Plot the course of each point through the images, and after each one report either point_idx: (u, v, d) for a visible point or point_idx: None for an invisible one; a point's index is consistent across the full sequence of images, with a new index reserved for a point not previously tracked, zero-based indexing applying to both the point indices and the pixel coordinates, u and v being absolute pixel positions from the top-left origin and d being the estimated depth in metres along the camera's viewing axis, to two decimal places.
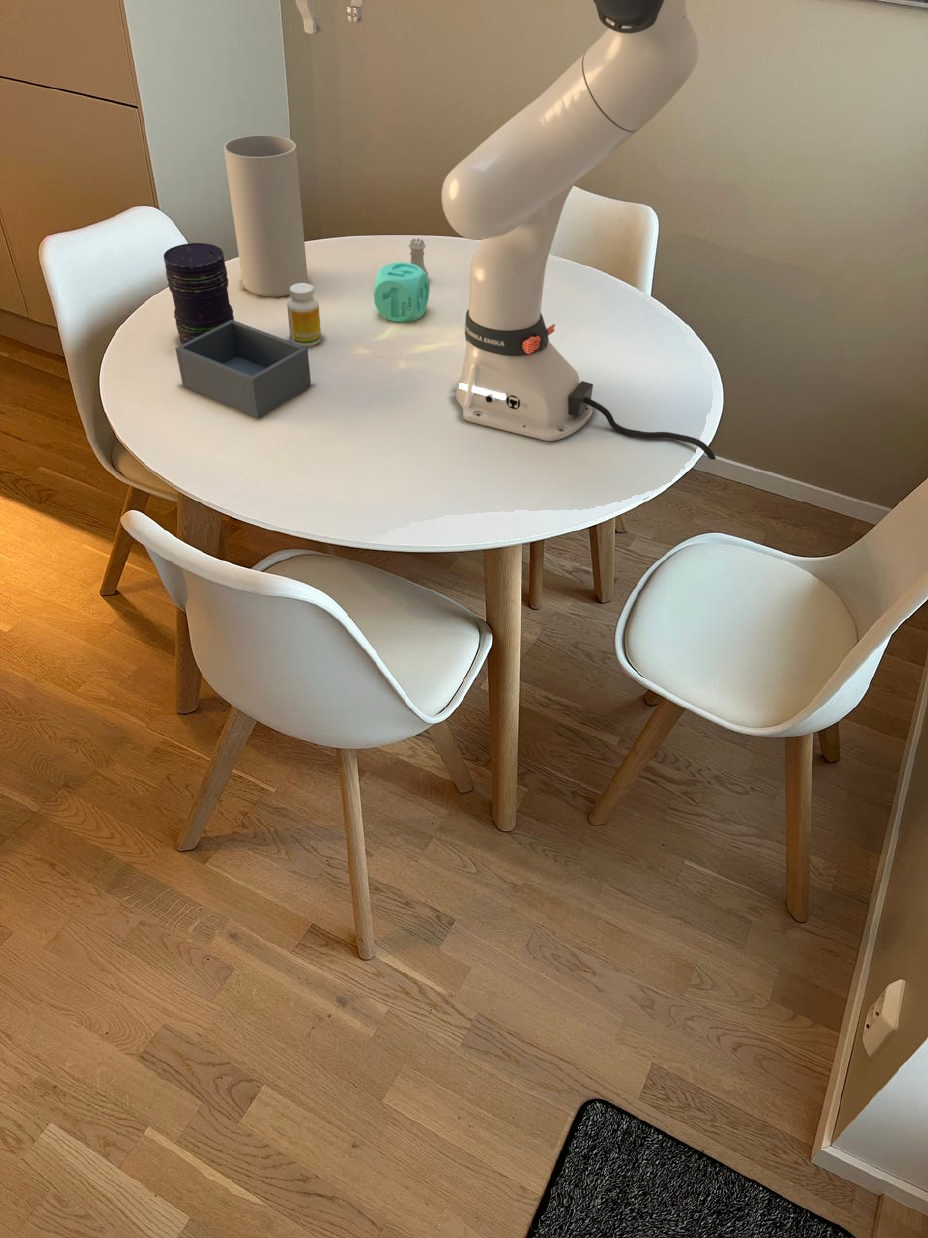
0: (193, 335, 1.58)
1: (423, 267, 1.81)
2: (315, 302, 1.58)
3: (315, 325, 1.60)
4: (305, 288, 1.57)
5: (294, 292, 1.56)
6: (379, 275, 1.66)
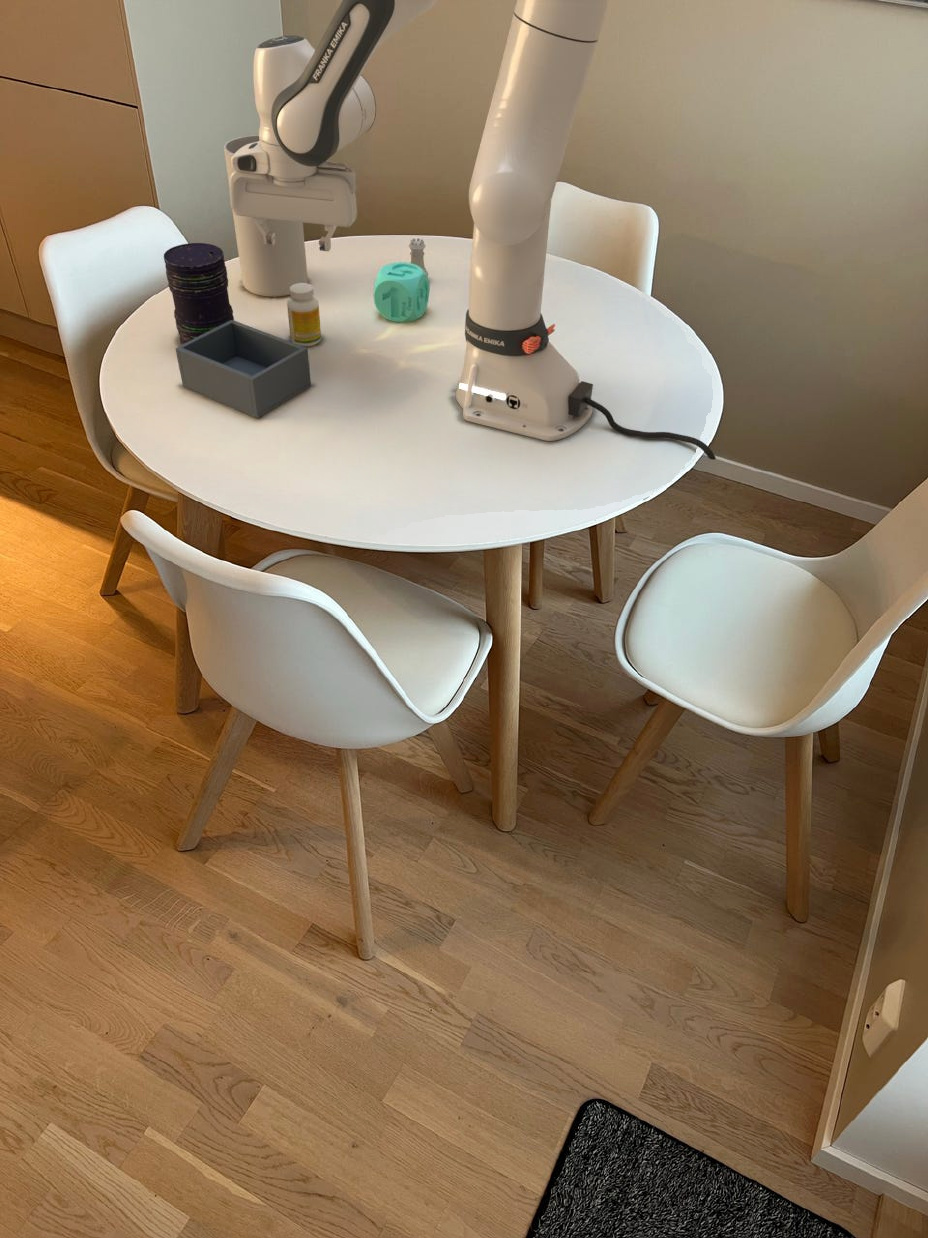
0: (193, 335, 1.58)
1: (423, 267, 1.81)
2: (315, 302, 1.58)
3: (315, 325, 1.60)
4: (305, 288, 1.57)
5: (294, 292, 1.56)
6: (379, 275, 1.66)
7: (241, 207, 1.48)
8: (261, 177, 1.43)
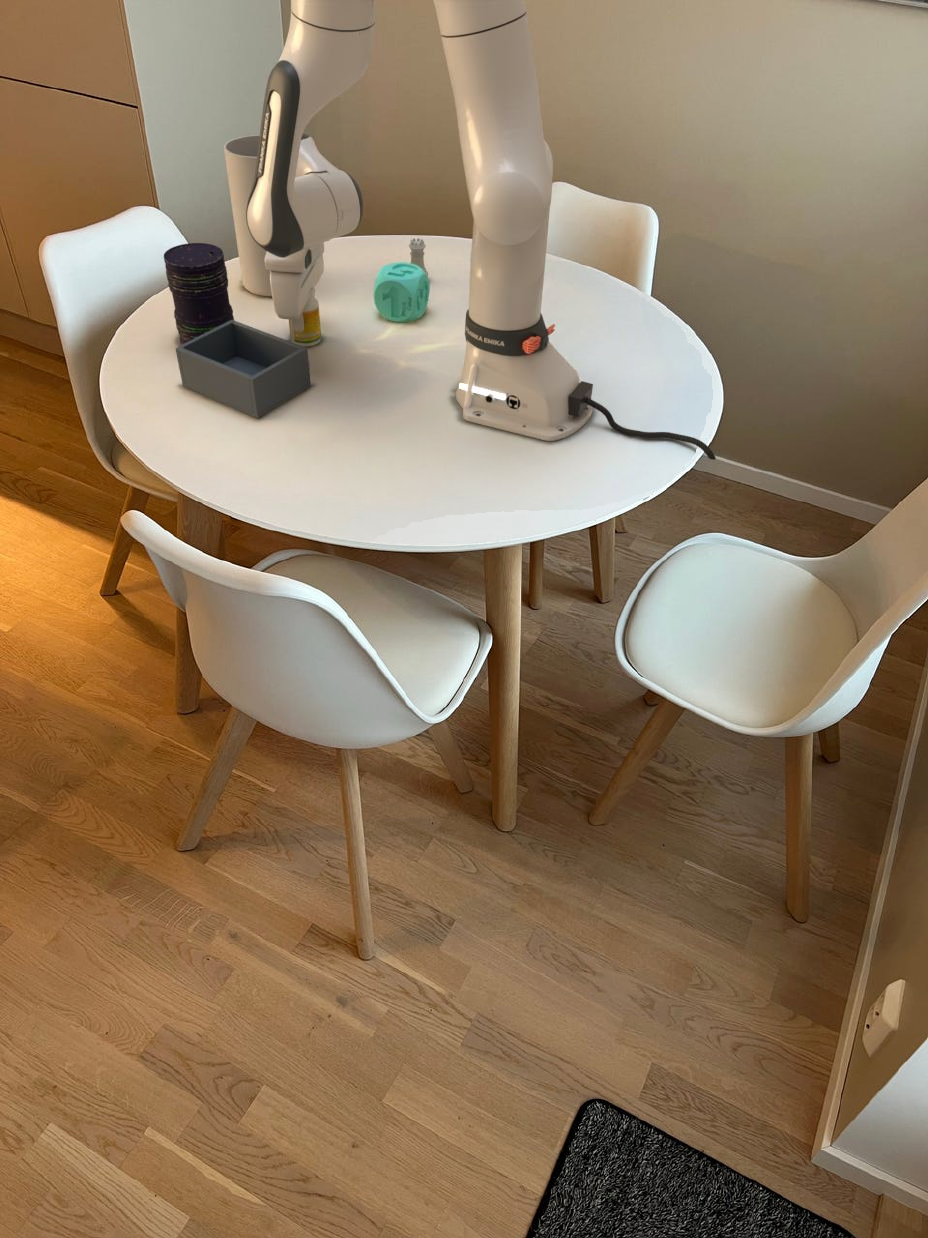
0: (193, 335, 1.58)
1: (423, 267, 1.81)
2: (315, 302, 1.58)
3: (315, 325, 1.60)
4: None
5: None
6: (379, 275, 1.66)
7: (300, 308, 1.51)
8: (309, 266, 1.50)
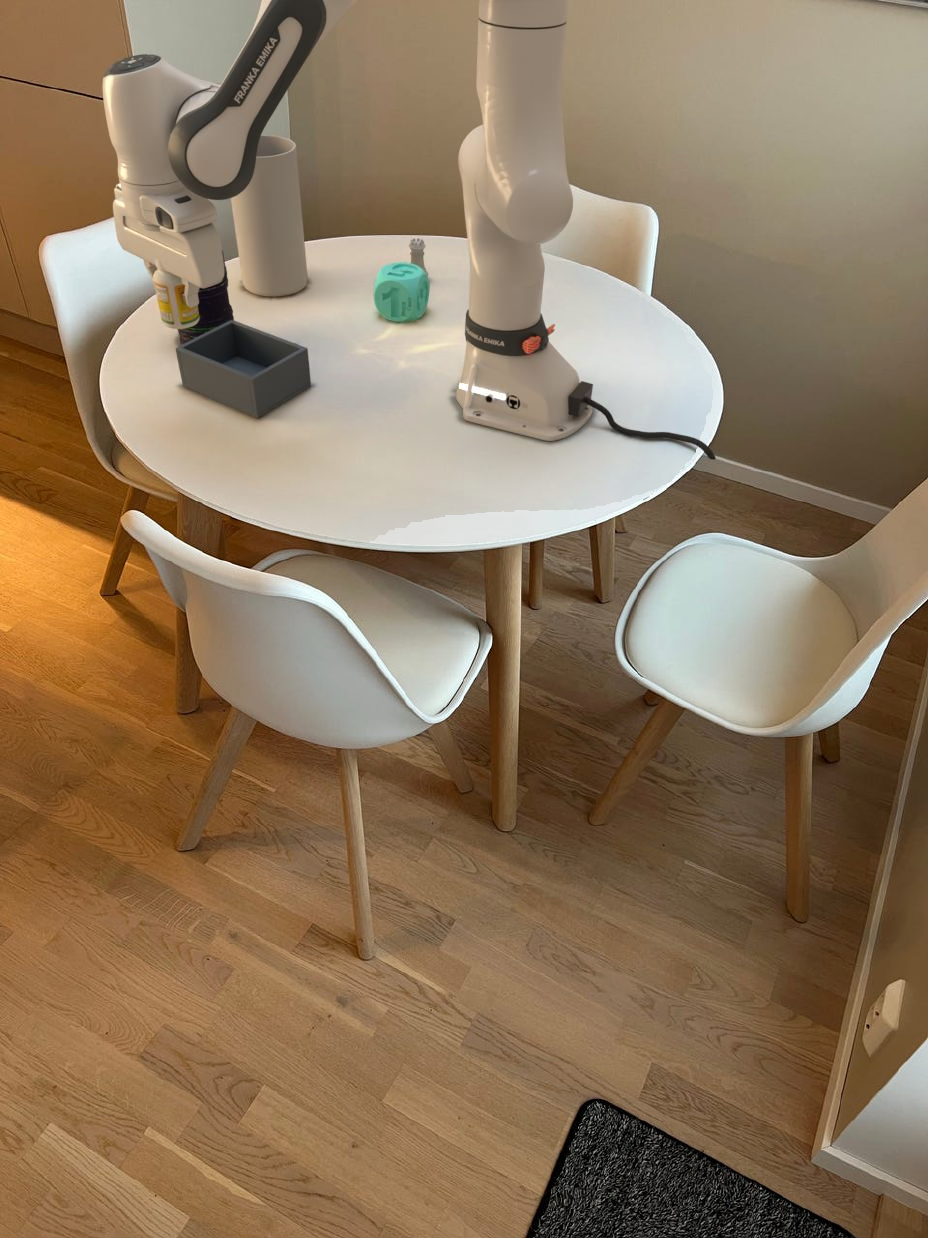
0: (193, 335, 1.58)
1: (423, 267, 1.81)
2: None
3: None
4: None
5: None
6: (379, 275, 1.66)
7: None
8: None
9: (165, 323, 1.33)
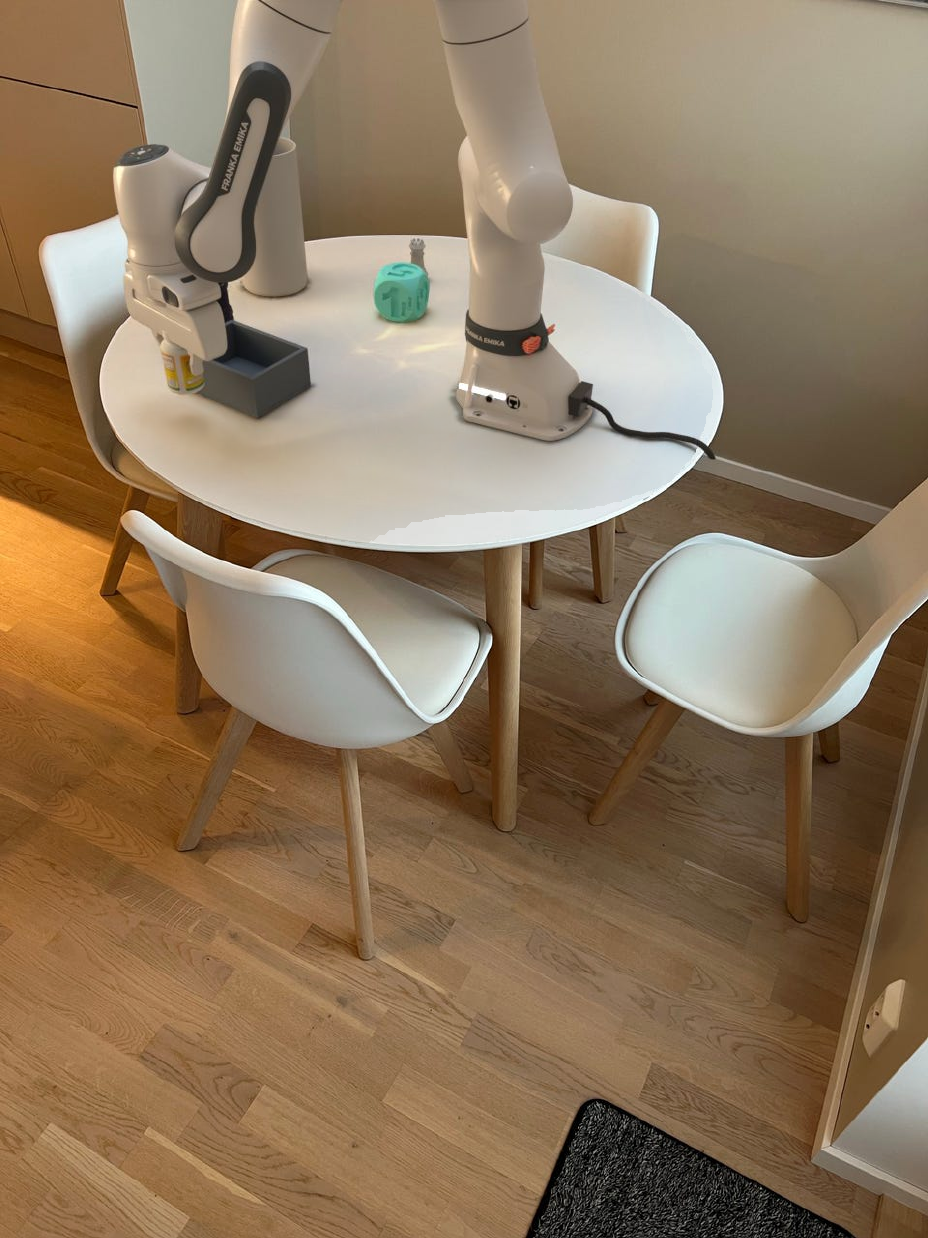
0: None
1: (423, 267, 1.81)
2: None
3: None
4: None
5: None
6: (379, 275, 1.66)
7: None
8: None
9: (171, 389, 1.39)
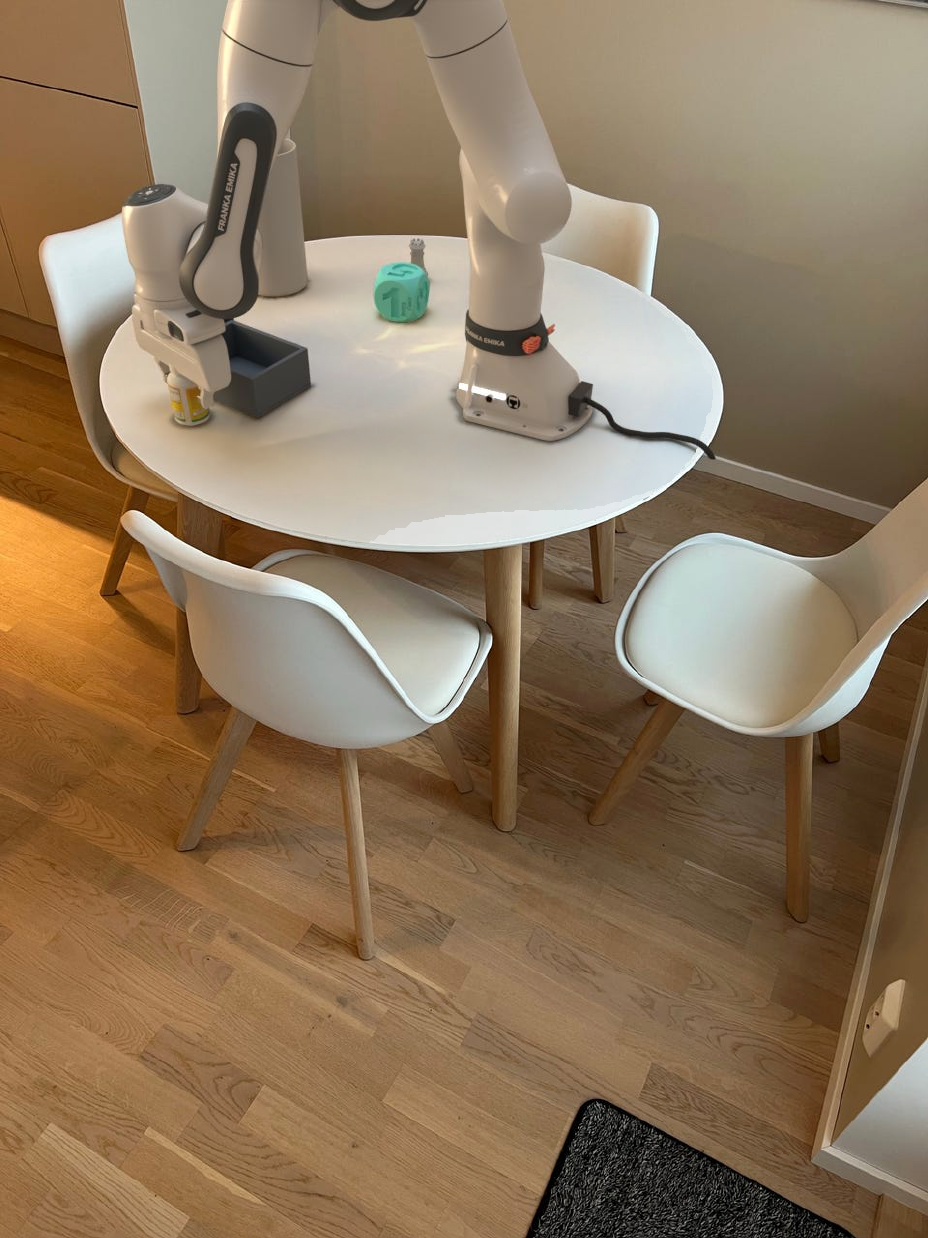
0: None
1: (423, 267, 1.81)
2: None
3: None
4: None
5: None
6: (379, 275, 1.66)
7: None
8: None
9: (177, 420, 1.42)
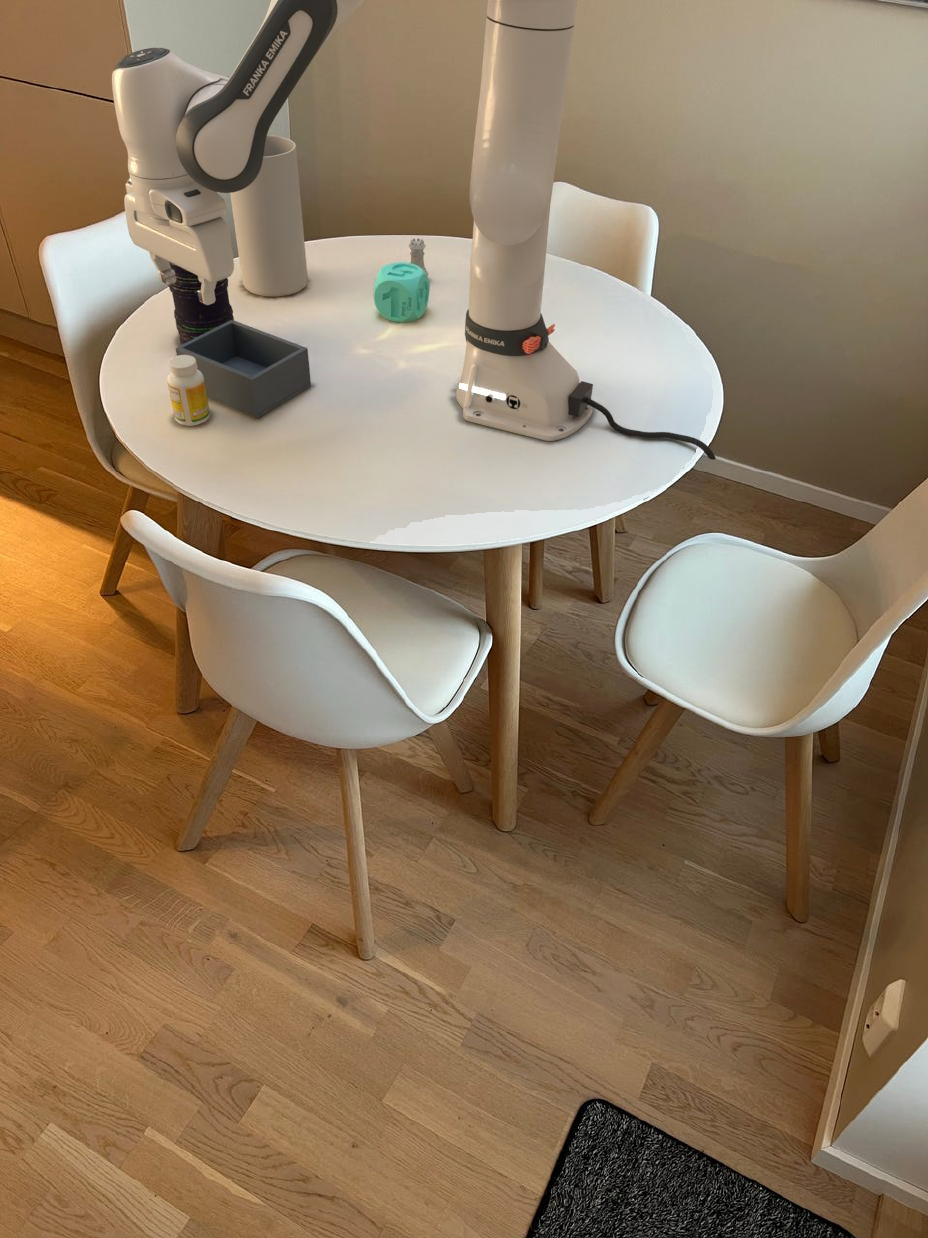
0: (193, 335, 1.58)
1: (423, 267, 1.81)
2: None
3: (206, 395, 1.42)
4: (186, 359, 1.38)
5: (184, 367, 1.36)
6: (379, 275, 1.66)
7: None
8: None
9: (177, 420, 1.42)
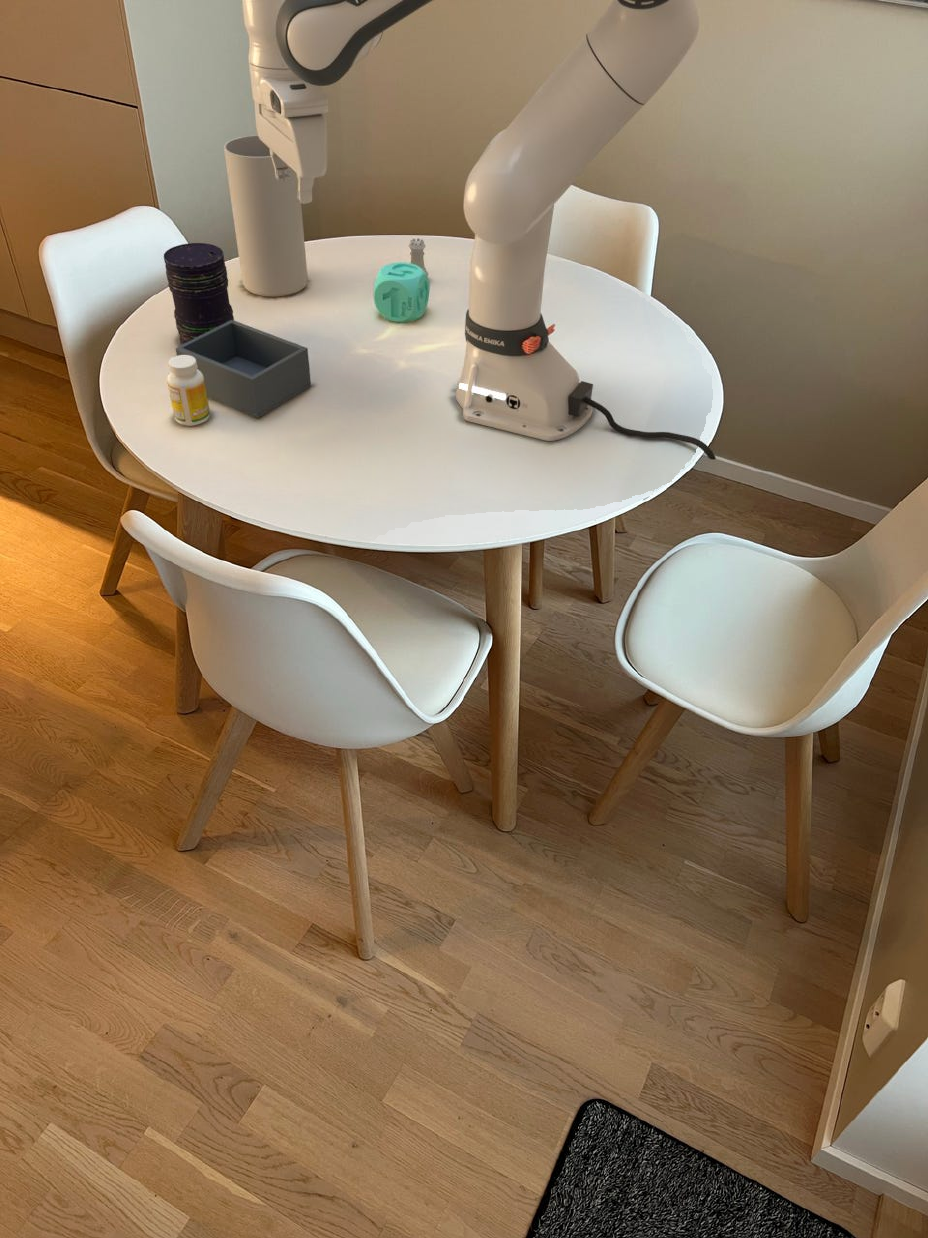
0: (193, 335, 1.58)
1: (423, 267, 1.81)
2: None
3: (206, 395, 1.42)
4: (186, 359, 1.38)
5: (184, 367, 1.36)
6: (379, 275, 1.66)
7: None
8: None
9: (177, 420, 1.42)
